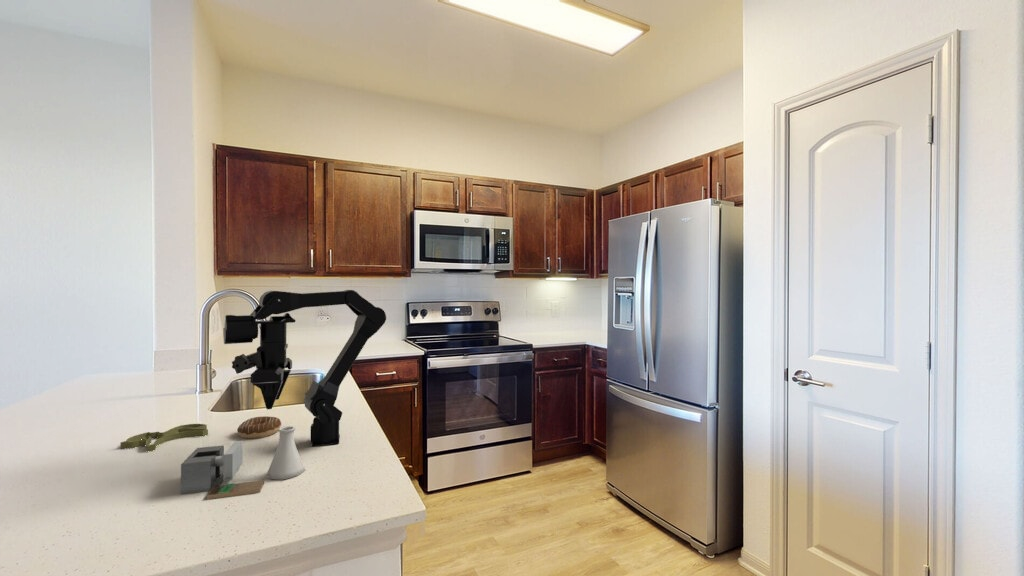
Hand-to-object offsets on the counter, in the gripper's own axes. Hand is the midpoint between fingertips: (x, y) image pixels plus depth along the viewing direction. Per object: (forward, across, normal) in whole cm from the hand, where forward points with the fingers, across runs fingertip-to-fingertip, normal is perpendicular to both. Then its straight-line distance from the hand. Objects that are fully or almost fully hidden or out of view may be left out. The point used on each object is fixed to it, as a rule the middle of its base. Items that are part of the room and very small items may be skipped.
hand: (272, 404), depth 107 cm
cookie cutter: (+13, -19, -28) cm, 36 cm away
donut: (+12, -17, -6) cm, 22 cm away
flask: (+12, +14, +5) cm, 20 cm away
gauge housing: (+12, +16, -6) cm, 21 cm away
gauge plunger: (+10, +16, -7) cm, 20 cm away
